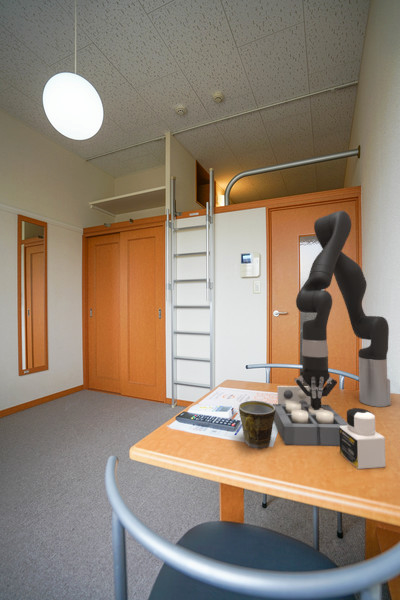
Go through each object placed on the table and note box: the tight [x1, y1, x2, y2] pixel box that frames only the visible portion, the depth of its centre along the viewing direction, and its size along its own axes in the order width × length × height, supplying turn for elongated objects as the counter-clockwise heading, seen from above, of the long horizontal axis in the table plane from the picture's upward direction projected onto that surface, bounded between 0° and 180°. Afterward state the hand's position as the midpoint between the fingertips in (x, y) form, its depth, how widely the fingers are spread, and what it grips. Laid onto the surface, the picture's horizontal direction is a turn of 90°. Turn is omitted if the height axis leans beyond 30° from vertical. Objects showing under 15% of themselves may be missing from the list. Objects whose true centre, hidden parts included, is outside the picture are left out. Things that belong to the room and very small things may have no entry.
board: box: [272, 403, 347, 447], centre depth 83 cm, size 18×17×5 cm
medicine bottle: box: [339, 407, 387, 470], centre depth 68 cm, size 7×7×12 cm
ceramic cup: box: [238, 400, 275, 450], centre depth 76 cm, size 13×10×10 cm
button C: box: [286, 401, 301, 414], centre depth 87 cm, size 5×5×3 cm
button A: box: [308, 407, 324, 414], centre depth 87 cm, size 5×5×3 cm
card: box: [277, 385, 311, 405], centre depth 98 cm, size 12×1×9 cm, turn 86°
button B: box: [316, 410, 334, 424], centre depth 80 cm, size 5×5×3 cm
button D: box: [291, 409, 308, 424], centre depth 80 cm, size 5×5×3 cm
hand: (315, 409), depth 87 cm, fingers closed
